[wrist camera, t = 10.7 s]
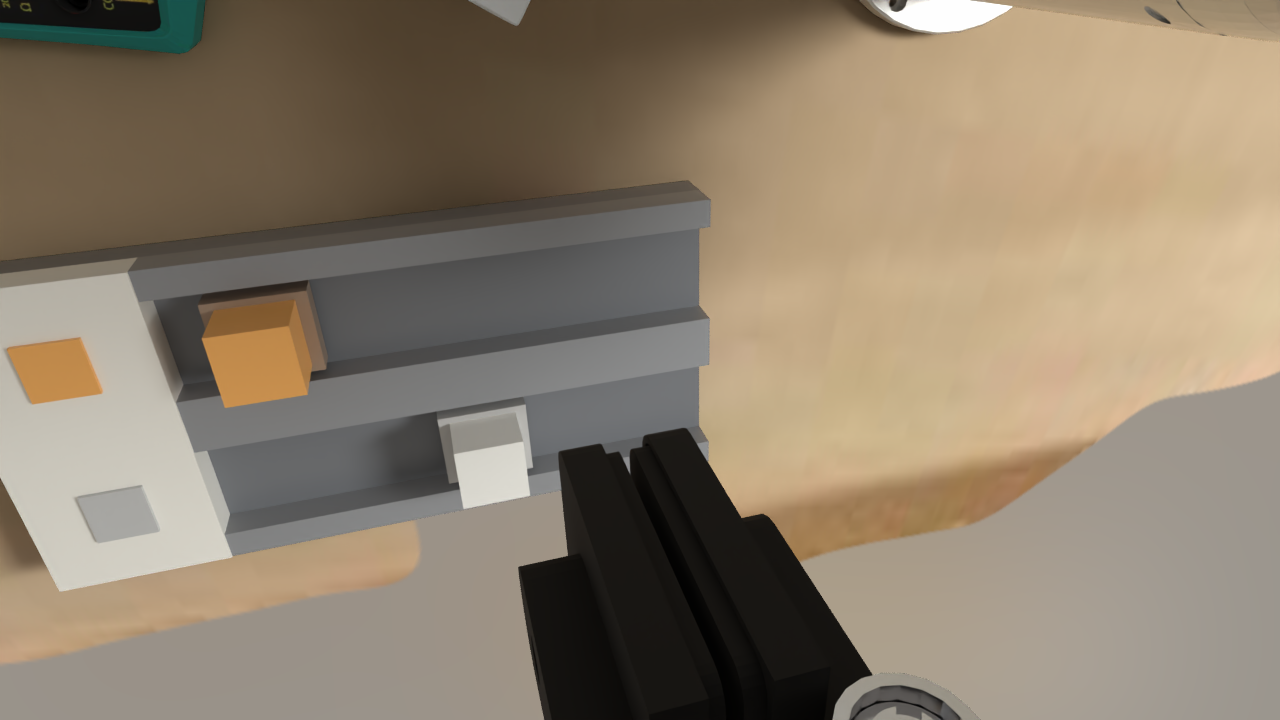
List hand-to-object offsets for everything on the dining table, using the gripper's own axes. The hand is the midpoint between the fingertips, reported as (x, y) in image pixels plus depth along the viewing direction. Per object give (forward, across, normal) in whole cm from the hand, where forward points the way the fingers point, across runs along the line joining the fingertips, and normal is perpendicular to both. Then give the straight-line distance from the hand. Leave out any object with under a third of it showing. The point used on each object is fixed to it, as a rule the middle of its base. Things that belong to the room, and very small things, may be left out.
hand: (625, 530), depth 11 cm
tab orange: (+25, +9, +7) cm, 28 cm away
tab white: (+25, +1, +14) cm, 29 cm away
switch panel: (+27, +5, +11) cm, 30 cm away
